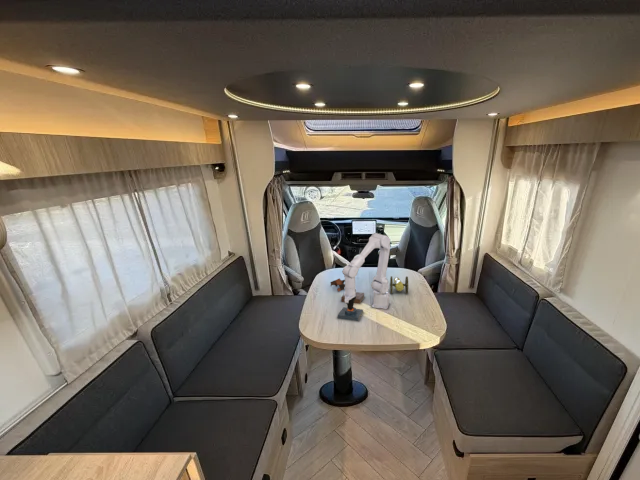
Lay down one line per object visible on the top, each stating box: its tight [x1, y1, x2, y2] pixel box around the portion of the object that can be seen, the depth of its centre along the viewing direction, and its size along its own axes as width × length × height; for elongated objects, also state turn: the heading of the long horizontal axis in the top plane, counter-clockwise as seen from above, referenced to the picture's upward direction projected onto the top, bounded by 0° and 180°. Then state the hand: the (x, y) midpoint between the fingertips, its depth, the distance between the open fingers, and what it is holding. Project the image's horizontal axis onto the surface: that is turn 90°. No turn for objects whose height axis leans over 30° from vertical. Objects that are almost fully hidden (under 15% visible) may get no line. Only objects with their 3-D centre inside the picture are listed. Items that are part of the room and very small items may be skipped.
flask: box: [337, 306, 364, 322], centre depth 175 cm, size 12×10×4 cm
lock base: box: [340, 291, 365, 305], centre depth 195 cm, size 12×10×3 cm
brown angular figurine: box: [329, 278, 345, 293], centre depth 211 cm, size 12×10×8 cm
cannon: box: [389, 275, 409, 295], centre depth 208 cm, size 25×12×11 cm, turn 179°
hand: (350, 309), depth 174 cm, fingers closed, pressing on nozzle
